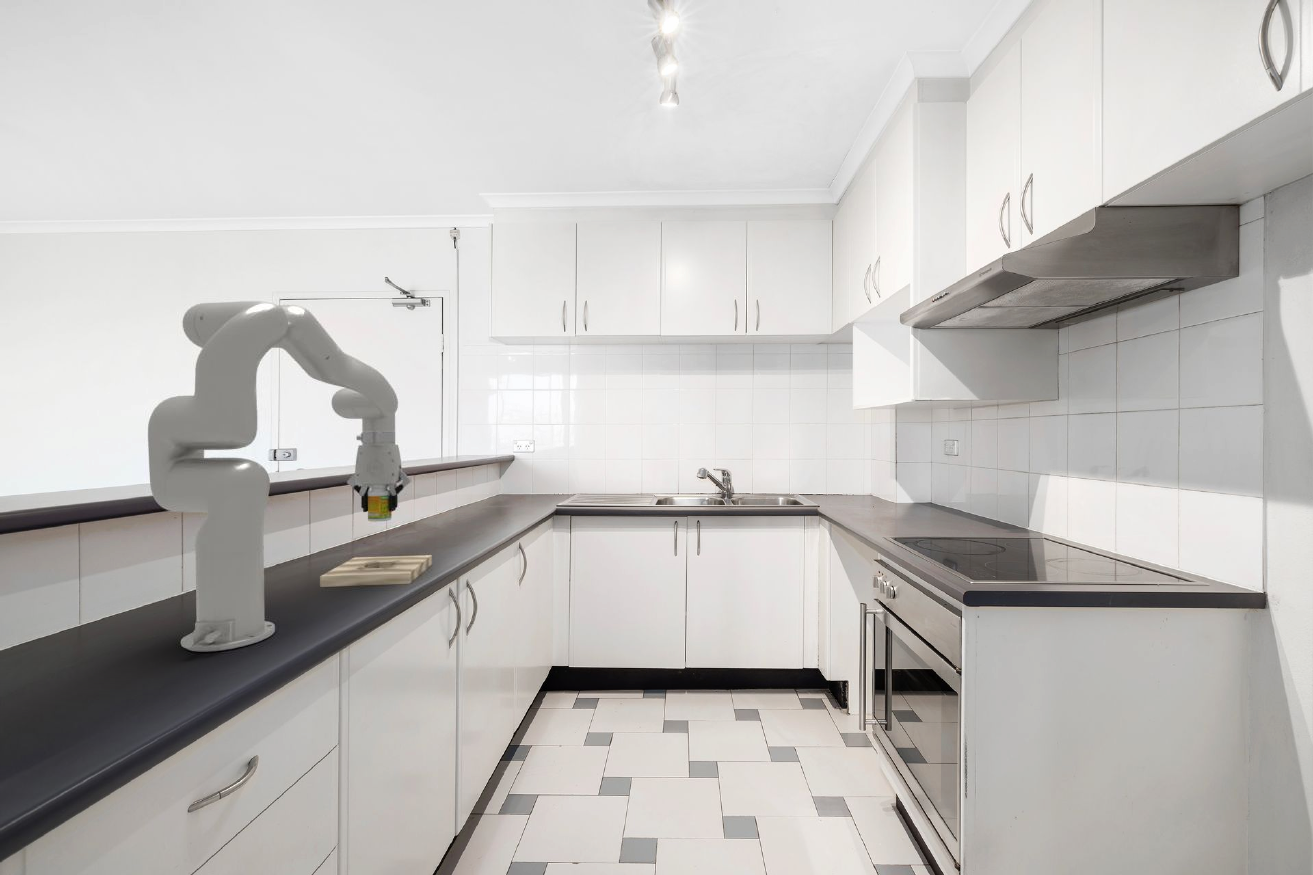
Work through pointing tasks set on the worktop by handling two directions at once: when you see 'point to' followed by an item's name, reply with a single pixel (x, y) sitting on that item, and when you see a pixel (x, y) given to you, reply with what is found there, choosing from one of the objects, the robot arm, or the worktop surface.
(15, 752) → the worktop surface
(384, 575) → the plate
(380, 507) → the supplement bottle
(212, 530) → the robot arm
